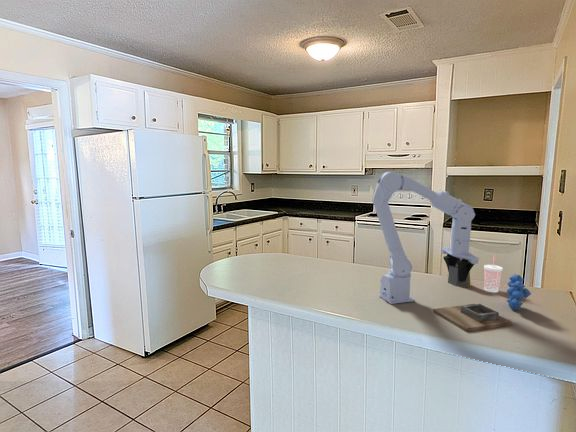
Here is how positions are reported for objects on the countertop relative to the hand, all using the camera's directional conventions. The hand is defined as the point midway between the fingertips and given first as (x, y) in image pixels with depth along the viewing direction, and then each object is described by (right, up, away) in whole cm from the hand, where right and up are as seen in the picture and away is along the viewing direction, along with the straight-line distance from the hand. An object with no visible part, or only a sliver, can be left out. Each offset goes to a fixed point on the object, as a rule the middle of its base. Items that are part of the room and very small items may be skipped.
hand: (457, 279), depth 119 cm
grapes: (+17, -9, -6) cm, 20 cm away
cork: (+11, -6, +19) cm, 22 cm away
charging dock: (-1, -10, -12) cm, 15 cm away
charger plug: (0, -2, 0) cm, 2 cm away
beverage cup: (+19, -7, +13) cm, 23 cm away
